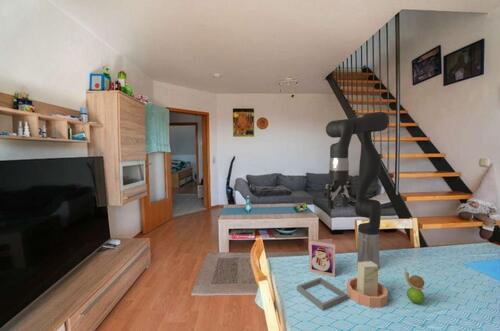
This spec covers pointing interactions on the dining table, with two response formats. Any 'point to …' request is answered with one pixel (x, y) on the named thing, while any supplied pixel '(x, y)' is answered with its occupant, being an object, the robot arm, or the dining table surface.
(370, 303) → the bowl
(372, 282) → the skincare box
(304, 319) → the dining table surface
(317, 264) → the greeting card
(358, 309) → the dining table surface
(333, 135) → the robot arm
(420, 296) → the snail figurine
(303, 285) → the open rectangular frame
